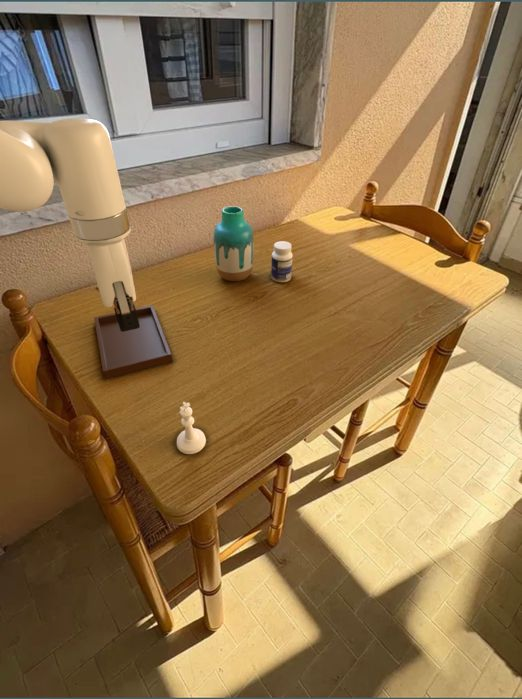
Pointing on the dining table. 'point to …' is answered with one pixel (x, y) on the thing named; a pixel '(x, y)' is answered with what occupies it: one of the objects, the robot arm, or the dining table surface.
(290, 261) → the pill bottle
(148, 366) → the tray
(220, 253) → the vase
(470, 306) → the dining table surface
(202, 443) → the chess piece
